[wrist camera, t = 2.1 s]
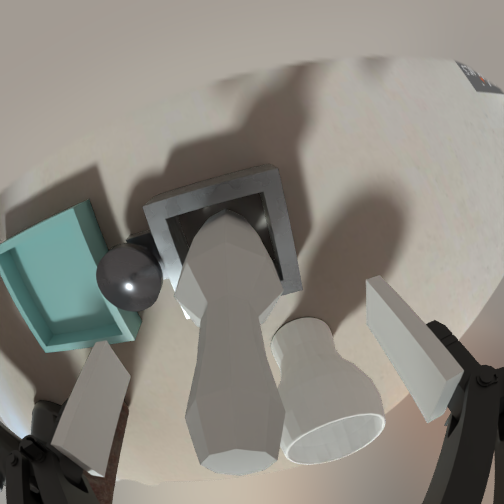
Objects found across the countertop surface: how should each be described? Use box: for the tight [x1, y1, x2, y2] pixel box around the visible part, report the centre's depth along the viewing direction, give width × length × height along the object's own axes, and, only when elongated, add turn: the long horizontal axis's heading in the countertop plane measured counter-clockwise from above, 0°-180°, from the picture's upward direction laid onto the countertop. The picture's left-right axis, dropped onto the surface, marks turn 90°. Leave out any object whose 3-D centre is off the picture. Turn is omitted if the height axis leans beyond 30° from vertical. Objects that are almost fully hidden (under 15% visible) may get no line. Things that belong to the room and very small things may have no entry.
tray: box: [0, 199, 142, 353], centre depth 26 cm, size 15×15×4 cm
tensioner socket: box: [96, 164, 303, 319], centre depth 25 cm, size 18×11×6 cm, turn 104°
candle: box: [82, 402, 129, 504], centre depth 26 cm, size 8×7×20 cm
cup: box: [271, 317, 386, 465], centre depth 26 cm, size 11×11×15 cm
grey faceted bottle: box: [174, 209, 286, 476], centre depth 17 cm, size 6×6×22 cm
